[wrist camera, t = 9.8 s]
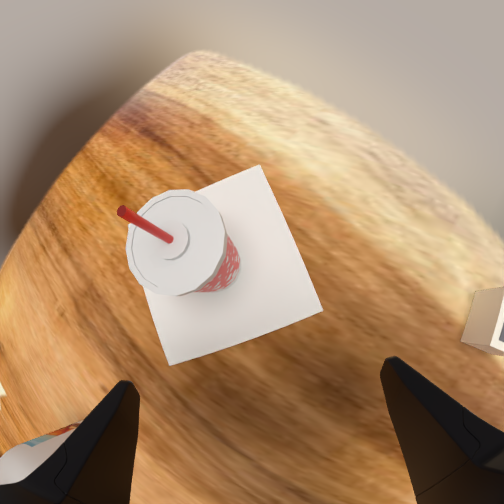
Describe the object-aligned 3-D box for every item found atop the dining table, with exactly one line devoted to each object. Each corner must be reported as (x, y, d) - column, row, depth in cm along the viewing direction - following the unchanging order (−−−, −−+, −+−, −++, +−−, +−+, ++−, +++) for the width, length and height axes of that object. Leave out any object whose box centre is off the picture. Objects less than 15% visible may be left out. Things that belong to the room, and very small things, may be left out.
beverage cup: (264, 278, 23) (221, 233, 9) (201, 314, 23) (91, 315, 10) (228, 217, 24) (159, 120, 11) (170, 253, 25) (59, 197, 11)
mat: (322, 310, 22) (323, 310, 22) (172, 364, 23) (169, 365, 23) (260, 167, 26) (259, 164, 25) (130, 226, 27) (127, 224, 26)
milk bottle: (119, 416, 23) (-38, 479, 3) (144, 476, 21) (25, 568, 2) (72, 415, 24) (-63, 453, 4) (95, 470, 22) (-18, 530, 2)
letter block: (490, 354, 19) (520, 358, 14) (459, 341, 20) (490, 345, 15) (504, 307, 19) (535, 304, 14) (474, 291, 20) (506, 286, 15)
